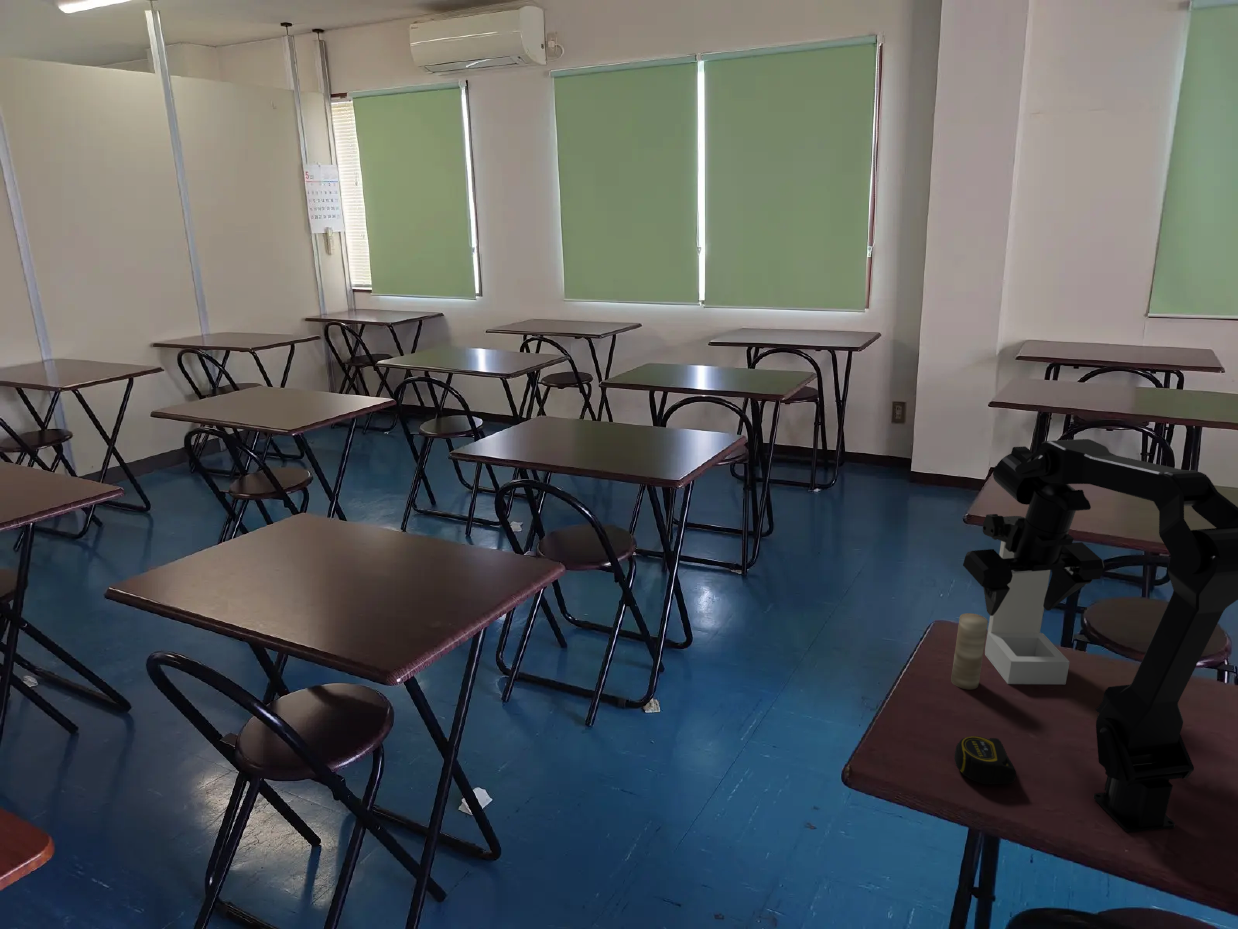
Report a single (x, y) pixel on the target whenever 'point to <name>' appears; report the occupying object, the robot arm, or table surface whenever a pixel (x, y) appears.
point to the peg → (969, 651)
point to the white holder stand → (1024, 633)
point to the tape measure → (984, 760)
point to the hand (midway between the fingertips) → (1018, 611)
